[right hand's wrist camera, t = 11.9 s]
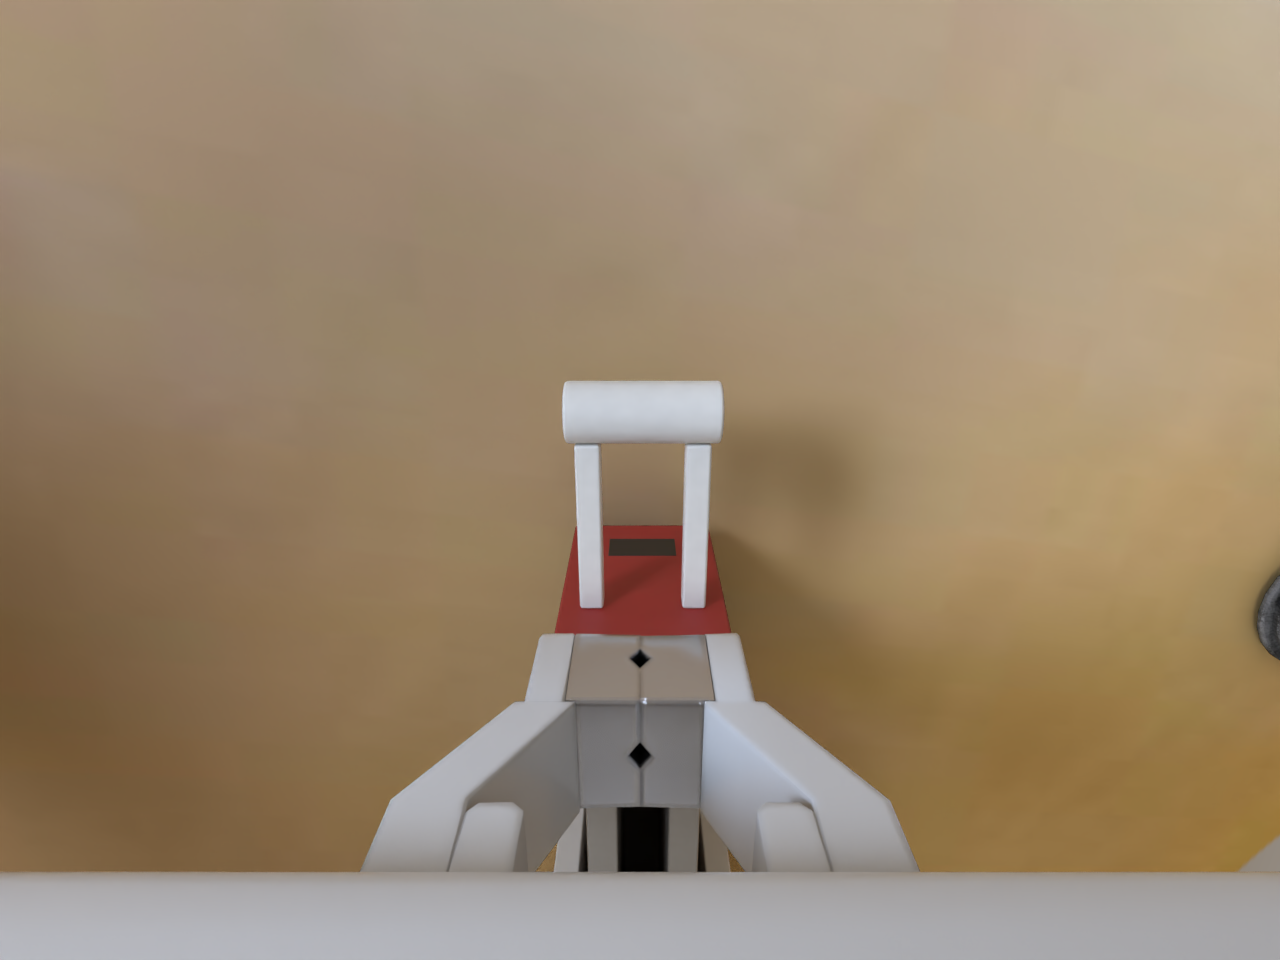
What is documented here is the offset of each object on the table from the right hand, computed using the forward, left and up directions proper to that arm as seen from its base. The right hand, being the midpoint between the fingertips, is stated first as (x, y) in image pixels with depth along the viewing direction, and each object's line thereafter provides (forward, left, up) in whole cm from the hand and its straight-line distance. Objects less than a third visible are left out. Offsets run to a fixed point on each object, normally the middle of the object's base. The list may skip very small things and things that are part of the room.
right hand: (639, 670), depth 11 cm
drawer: (+7, -4, -11) cm, 14 cm away
